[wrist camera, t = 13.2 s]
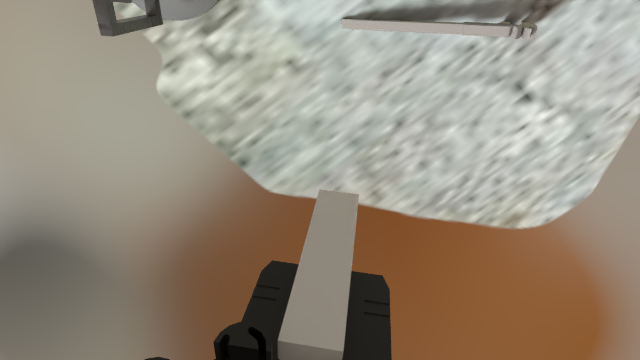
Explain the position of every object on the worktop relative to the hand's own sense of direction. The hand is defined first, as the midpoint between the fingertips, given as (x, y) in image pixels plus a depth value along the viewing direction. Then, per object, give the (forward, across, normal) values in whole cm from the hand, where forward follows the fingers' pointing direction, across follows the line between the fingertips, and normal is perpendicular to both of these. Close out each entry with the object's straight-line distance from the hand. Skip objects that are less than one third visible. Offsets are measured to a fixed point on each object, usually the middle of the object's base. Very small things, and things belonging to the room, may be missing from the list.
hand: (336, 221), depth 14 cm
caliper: (+35, +7, +4) cm, 36 cm away
